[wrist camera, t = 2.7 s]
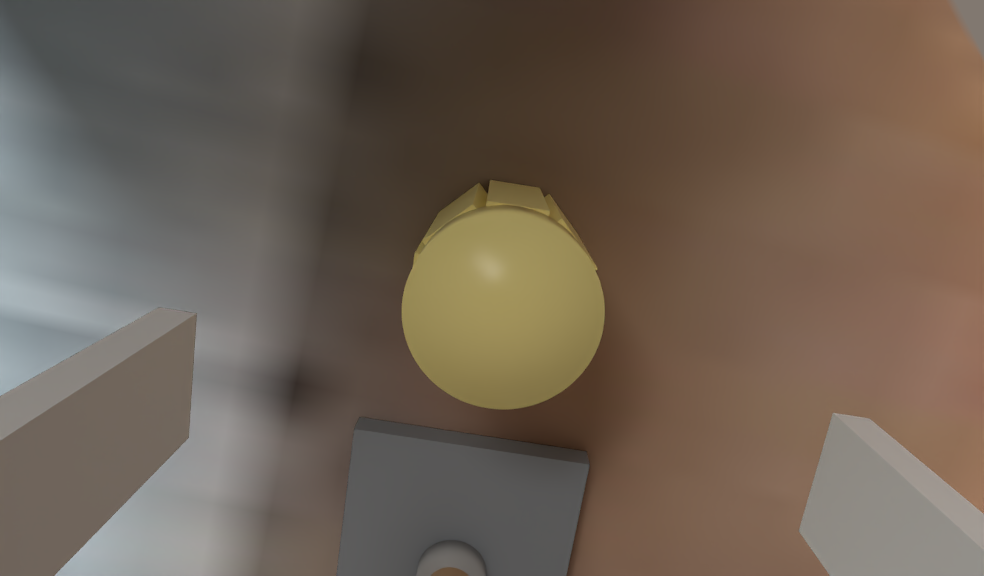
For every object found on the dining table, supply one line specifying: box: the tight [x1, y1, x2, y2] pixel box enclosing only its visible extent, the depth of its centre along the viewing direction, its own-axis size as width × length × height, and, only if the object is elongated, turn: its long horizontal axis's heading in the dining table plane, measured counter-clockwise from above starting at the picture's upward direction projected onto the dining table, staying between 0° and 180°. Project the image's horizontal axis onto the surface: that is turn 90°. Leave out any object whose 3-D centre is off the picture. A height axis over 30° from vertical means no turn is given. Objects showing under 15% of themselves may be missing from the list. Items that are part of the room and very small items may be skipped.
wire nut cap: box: [401, 180, 605, 409], centre depth 26 cm, size 6×6×8 cm
